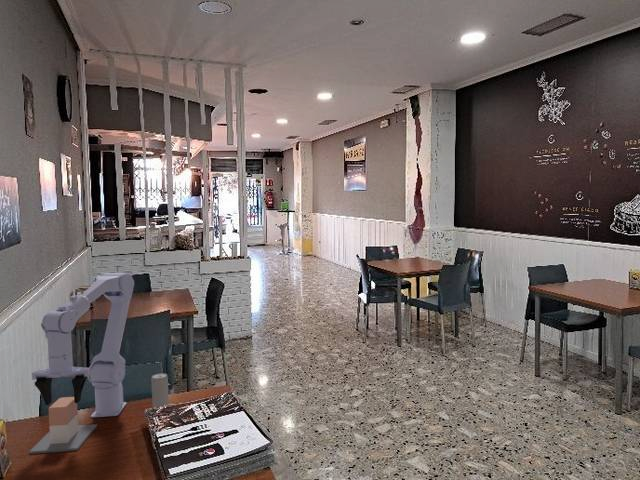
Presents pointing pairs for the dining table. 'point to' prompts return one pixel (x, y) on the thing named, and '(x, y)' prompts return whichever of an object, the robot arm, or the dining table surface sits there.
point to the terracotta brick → (62, 411)
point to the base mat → (72, 445)
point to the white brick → (64, 432)
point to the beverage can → (160, 390)
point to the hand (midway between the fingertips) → (63, 402)
